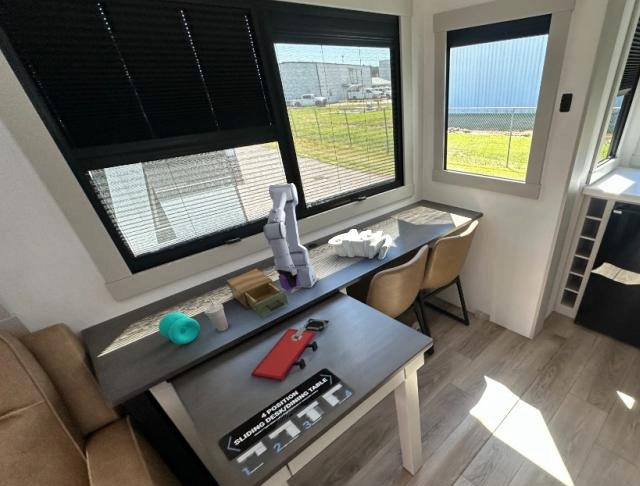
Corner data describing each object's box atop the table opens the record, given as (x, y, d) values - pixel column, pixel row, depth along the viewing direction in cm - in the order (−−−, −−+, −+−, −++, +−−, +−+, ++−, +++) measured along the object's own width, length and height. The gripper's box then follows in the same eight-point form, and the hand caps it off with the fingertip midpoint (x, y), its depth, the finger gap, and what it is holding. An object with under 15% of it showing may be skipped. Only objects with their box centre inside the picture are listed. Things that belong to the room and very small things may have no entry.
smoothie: (235, 324, 123) (222, 294, 116) (223, 334, 119) (208, 304, 111) (222, 321, 125) (208, 292, 117) (210, 332, 120) (194, 302, 113)
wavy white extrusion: (398, 249, 171) (397, 231, 165) (388, 263, 158) (386, 244, 152) (342, 244, 182) (338, 227, 176) (327, 257, 169) (323, 238, 163)
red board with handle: (334, 323, 120) (299, 319, 124) (332, 317, 118) (297, 313, 122) (293, 384, 96) (252, 376, 100) (290, 377, 95) (249, 370, 99)
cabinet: (277, 295, 140) (272, 279, 135) (247, 309, 132) (240, 292, 127) (261, 283, 149) (256, 268, 145) (233, 295, 141) (226, 280, 137)
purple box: (300, 285, 127) (297, 273, 124) (287, 291, 124) (283, 279, 121) (295, 281, 130) (291, 269, 127) (281, 287, 126) (278, 275, 123)
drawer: (294, 308, 129) (290, 295, 125) (265, 322, 122) (260, 309, 118) (272, 292, 140) (268, 280, 137) (245, 304, 133) (240, 292, 130)
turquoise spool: (179, 350, 112) (165, 329, 107) (165, 341, 117) (151, 320, 111) (205, 334, 119) (194, 313, 114) (191, 326, 124) (180, 306, 118)
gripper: (263, 252, 121) (273, 282, 129) (281, 263, 112) (290, 295, 120) (280, 246, 125) (288, 276, 133) (298, 256, 116) (306, 287, 124)
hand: (290, 284), depth 126 cm, fingers closed on purple box, 4 cm apart
